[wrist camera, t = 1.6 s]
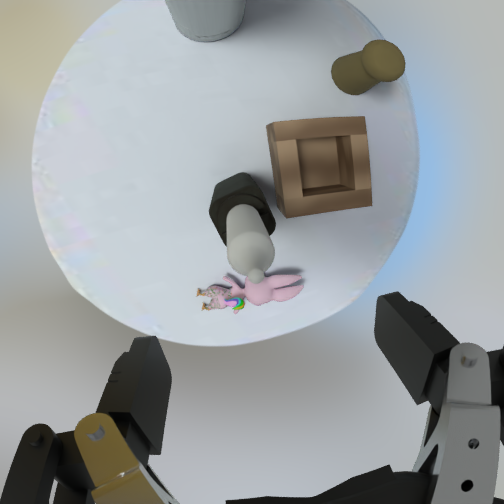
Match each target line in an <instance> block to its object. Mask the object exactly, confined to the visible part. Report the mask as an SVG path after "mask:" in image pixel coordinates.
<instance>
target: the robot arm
mask: <svg viewBox="0 0 504 504" xmlns="http://www.w3.org/2000/svg"><path fill="white" fill-rule="evenodd" d="M165 2H166V4H167V6H168V9H169V11H170V13H171V16H172V18H173V20H174V22H175V25H176V27H177V29H178V30H179V31H180V33H181V34H183V35H184V36H185V37H187V38H189V39H192V40H195V41H201V42H210V41H216V40H220V39H223V38H225V37H227V36H229V35H230V34H232V33H233V32H234V31H235V30H236V29H237V28H238V27H239V26H240V24H241V22H242V19H243V15H244V9H245V4H246V0H165ZM374 333H375V339H376V343H377V345H378V346H379V348H380V349H381V351H382V352H383V354H384V355H385V357H386V358H387V360H388V361H389V363H390V364H391V366H392V367H393V369H394V370H395V372H396V373H397V375H398V376H399V378H400V379H401V381H402V382H403V384H404V385H405V387H406V389H407V390H408V392H409V393H410V395H411V396H412V398H413V399H414V401H415V403H416V404H417V405H419V404H421V403H423V402H426V401H429V402H430V404H431V406H430V408H429V412H428V417H427V422H426V427H425V431H424V436H423V440H422V444H421V449H420V452H419V455H418V458H417V460H416V462H415V464H414V467H413V469H412V472H408V471H403V472H393V471H392V469H391V467H390V465H387V466H384V467H381V468H379V469H376V470H373V471H370V472H368V473H364V474H361V475H358V476H355V477H352V478H350V479H348V480H347V481H345V482H343V483H341V484H339V485H337V486H335V487H333V488H331V489H329V490H327V491H325V492H323V493H321V494H319V495H317V496H314V497H306V498H305V497H271V496H265V497H257V498H250V499H239V500H226V504H504V500H503V499H499V498H495V497H494V491H495V485H496V478H497V470H498V461H499V446H500V440H501V442H502V444H503V445H504V346H503V349H501V350H495V351H490V352H486V351H485V350H484V349H483V348H482V347H480V346H478V345H476V344H473V343H461V344H460V343H459V342H458V340H457V339H456V338H455V337H453V335H452V334H451V333H450V332H449V331H448V330H447V329H446V328H445V327H444V326H443V325H442V324H441V323H439V322H438V321H437V319H436V318H435V317H433V316H431V314H430V313H429V312H428V311H427V310H426V309H425V308H424V307H423V306H421V305H419V304H417V303H415V302H413V301H410V302H409V301H408V300H407V299H406V298H405V297H404V296H403V295H401V294H400V293H399V292H393V293H389V294H385V295H381V296H379V297H378V299H377V305H376V318H375V328H374ZM111 373H112V374H110V376H109V379H108V383H107V384H106V387H105V389H104V392H103V394H102V397H101V400H100V403H99V405H98V408H97V411H96V413H93V414H90V415H88V416H86V417H84V418H83V419H82V420H81V421H79V423H78V424H77V426H76V428H75V430H74V431H68V432H63V433H57V434H55V433H54V431H53V430H52V429H51V428H50V427H49V426H48V425H46V424H35V425H33V426H31V427H30V428H28V429H27V430H26V431H25V433H24V434H23V436H22V439H21V441H20V443H19V446H18V449H17V451H16V454H15V456H14V459H13V462H12V465H11V467H10V470H9V473H8V476H7V480H6V483H5V486H4V489H3V492H2V496H1V499H0V504H49V498H50V493H51V489H52V485H53V481H54V479H55V480H56V481H57V482H58V484H57V488H56V492H55V497H54V501H53V504H95V503H96V504H180V503H179V502H178V501H177V500H176V499H175V498H174V497H173V495H172V494H171V493H170V492H169V490H168V489H167V488H166V487H165V485H164V484H163V483H162V481H161V480H160V479H159V477H158V476H157V475H156V473H155V472H154V471H153V469H152V468H151V466H150V465H149V464H148V458H149V455H160V454H161V448H162V441H163V434H164V427H165V421H166V414H167V407H168V402H169V395H170V389H171V382H172V377H171V371H170V368H169V365H168V363H167V360H166V358H165V355H164V353H163V350H162V348H161V346H160V343H159V341H158V339H157V337H156V336H147V337H137V338H135V339H134V340H133V343H132V345H131V348H130V351H129V352H124V353H123V354H122V355H121V356H120V357H119V358H118V360H117V361H116V362H115V364H114V367H113V369H112V371H111Z"/></svg>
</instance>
